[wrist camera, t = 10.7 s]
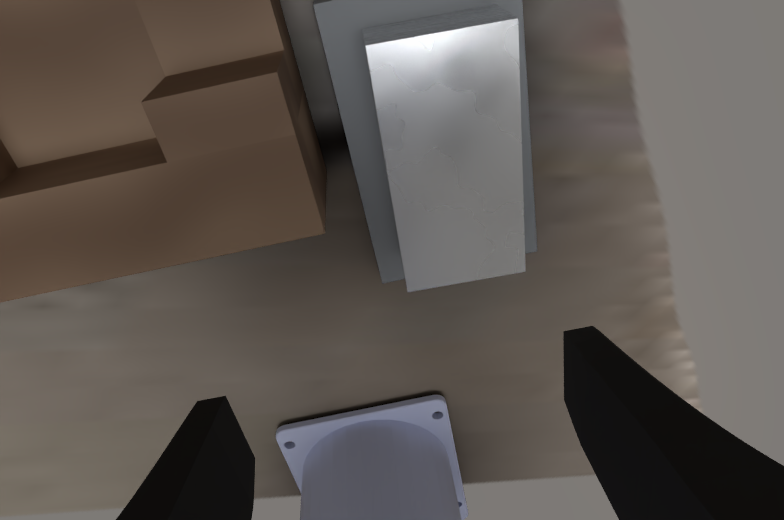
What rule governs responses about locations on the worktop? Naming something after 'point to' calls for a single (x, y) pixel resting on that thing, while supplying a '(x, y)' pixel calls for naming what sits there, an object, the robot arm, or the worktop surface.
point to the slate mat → (358, 113)
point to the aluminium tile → (452, 142)
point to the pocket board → (148, 138)
